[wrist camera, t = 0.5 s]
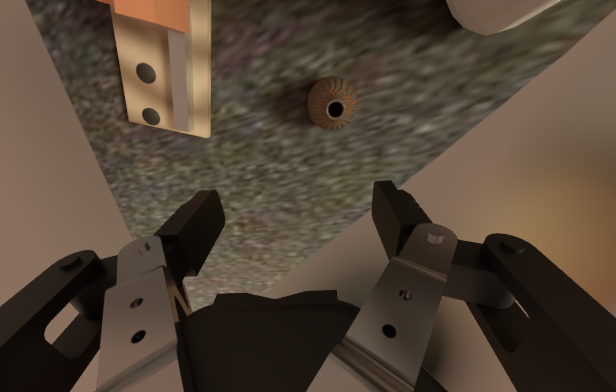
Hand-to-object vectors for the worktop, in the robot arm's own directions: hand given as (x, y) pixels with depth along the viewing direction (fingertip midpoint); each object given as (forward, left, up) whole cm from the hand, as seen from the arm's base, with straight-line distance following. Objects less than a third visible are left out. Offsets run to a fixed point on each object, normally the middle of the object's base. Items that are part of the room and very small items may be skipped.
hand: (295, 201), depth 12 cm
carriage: (-9, -20, -26) cm, 34 cm away
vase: (-3, +3, -27) cm, 28 cm away
